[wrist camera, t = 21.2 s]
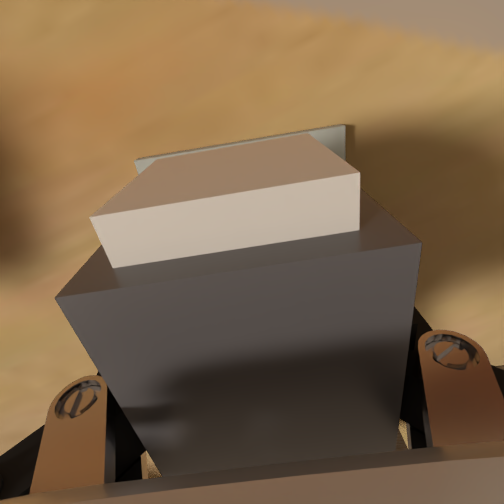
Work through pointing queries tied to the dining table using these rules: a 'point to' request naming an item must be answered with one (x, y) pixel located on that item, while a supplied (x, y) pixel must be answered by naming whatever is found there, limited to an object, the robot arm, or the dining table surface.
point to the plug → (249, 307)
